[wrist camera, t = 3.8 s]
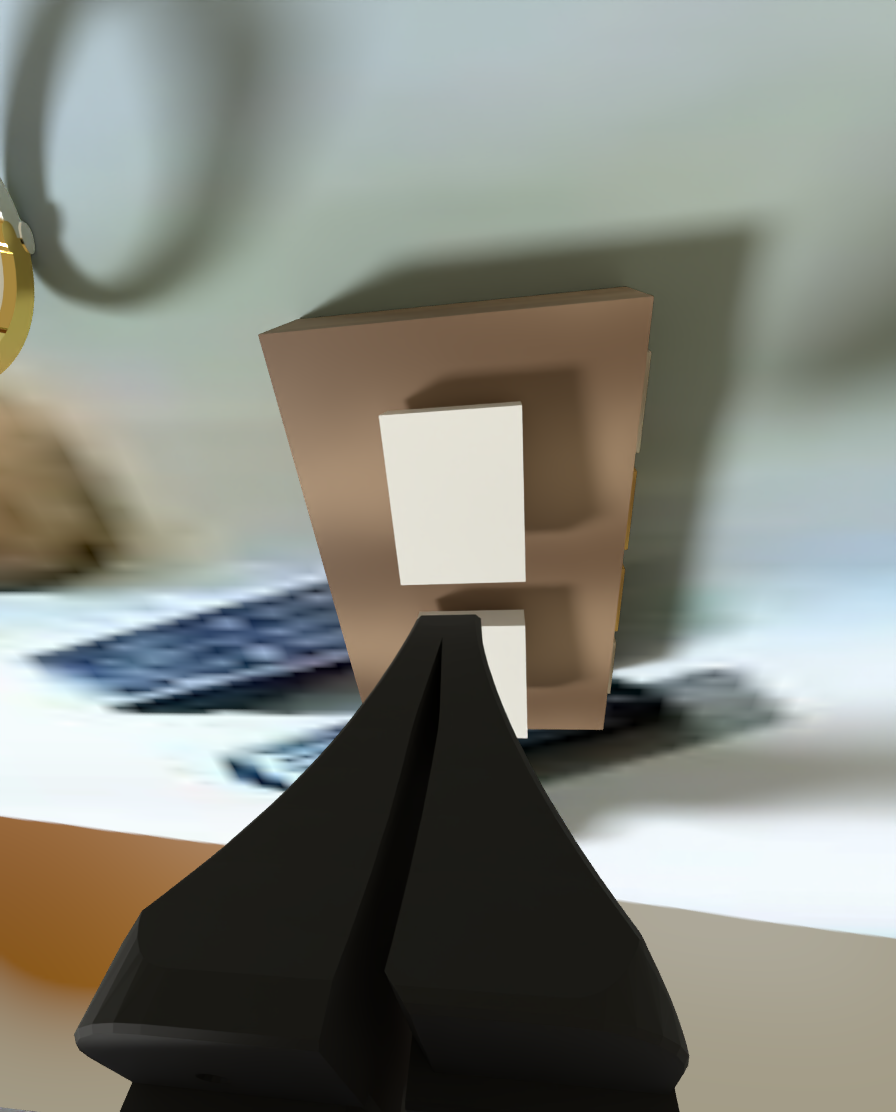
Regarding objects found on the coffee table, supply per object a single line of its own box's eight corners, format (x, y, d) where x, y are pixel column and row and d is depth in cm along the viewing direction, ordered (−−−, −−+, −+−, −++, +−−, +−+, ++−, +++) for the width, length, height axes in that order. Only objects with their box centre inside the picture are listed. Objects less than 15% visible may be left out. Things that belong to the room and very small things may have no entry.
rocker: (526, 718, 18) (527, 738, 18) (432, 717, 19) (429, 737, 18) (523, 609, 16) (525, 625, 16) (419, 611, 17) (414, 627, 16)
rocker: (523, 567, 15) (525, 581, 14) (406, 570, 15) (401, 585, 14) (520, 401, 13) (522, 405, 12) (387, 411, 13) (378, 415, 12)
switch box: (597, 675, 23) (613, 742, 20) (382, 676, 24) (366, 739, 21) (636, 285, 14) (674, 297, 11) (297, 319, 15) (248, 338, 12)
